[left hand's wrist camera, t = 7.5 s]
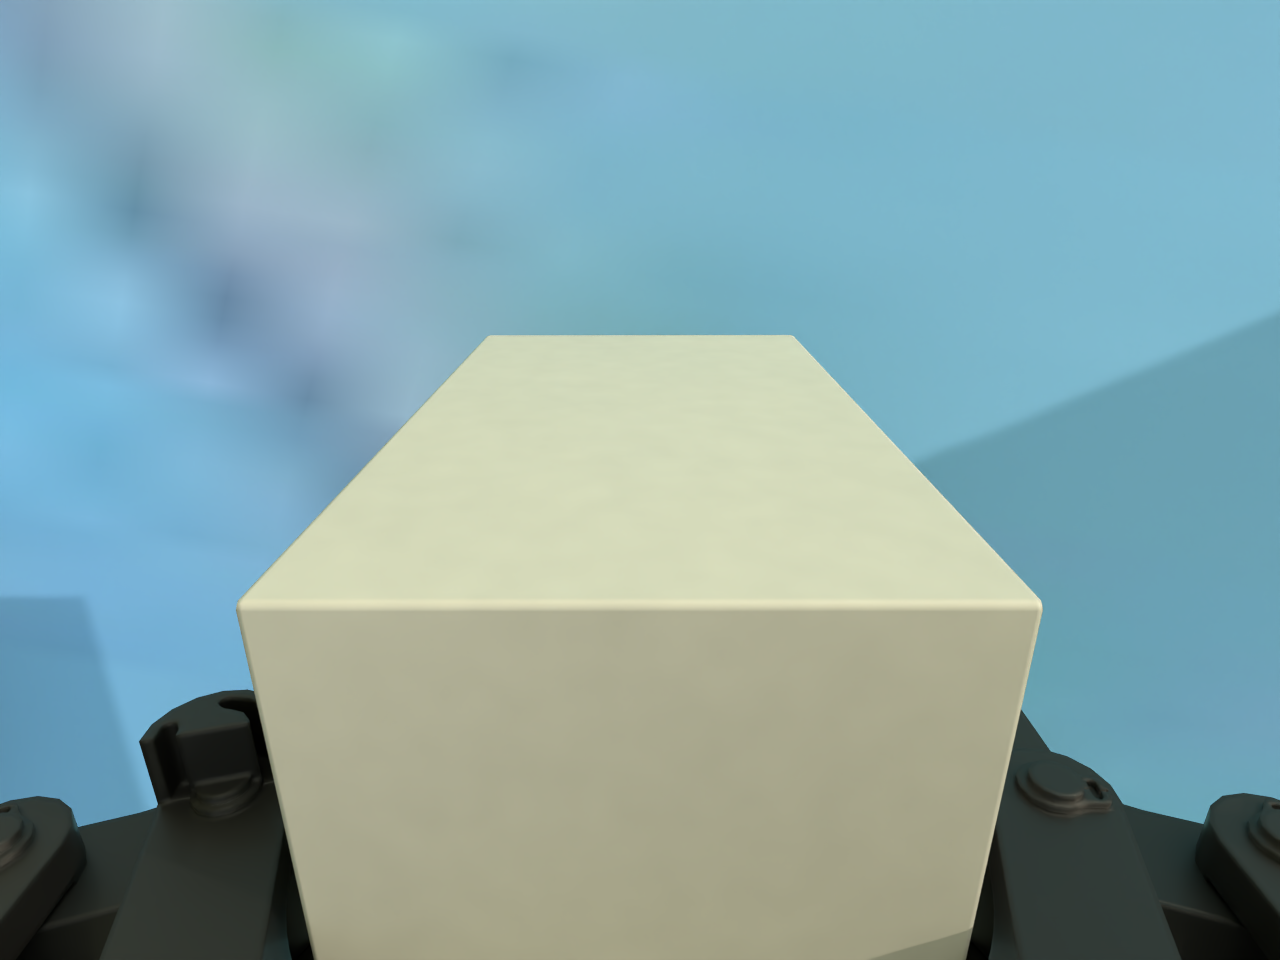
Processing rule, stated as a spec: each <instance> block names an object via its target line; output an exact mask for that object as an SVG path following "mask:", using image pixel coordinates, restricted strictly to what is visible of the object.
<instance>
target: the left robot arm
mask: <svg viewBox="0 0 1280 960" xmlns="http://www.w3.org/2000/svg"><path fill="white" fill-rule="evenodd" d="M139 743H140V746H141V749H142V753H143V756H144V759H145V763H146V766H147V769H148V773H149V776H150V779H151V782H152V786H153V789H154V792H155V796H156V799H157V802H158V805H157V808H154V809H151V810H147V811H144V812H141V813H137V814H133V815H129V816H124V817H120V818H116V819H111V820H107V821H103V822H98V823H94V824H90V825H85V826H81V827H78V826H77V823H76V820H75V818H74V815H73V812H72V809H71V808H70V807H69V806H67V805H66V804H65V803H64V802H62V801H61V800H60V799H56V798H48V797H41V796H36V797H30V798H23V799H17V800H10V801H8V802H5V803H2V804H0V960H314V957H313V953H312V948H311V944H310V939H309V935H308V930H307V926H306V922H305V917H304V913H303V908H302V904H301V899H300V895H299V890H298V886H297V881H296V877H295V872H294V868H293V863H292V859H291V854H290V850H289V845H288V841H287V836H286V832H285V827H284V823H283V818H282V814H281V809H280V805H279V800H278V796H277V791H276V787H275V782H274V778H273V774H272V769H271V765H270V760H269V756H268V751H267V747H266V742H265V738H264V733H263V729H262V724H261V720H260V715H259V711H258V706H257V702H256V697H255V693H254V691H251V690H233V691H222V692H218V693H214V694H210V695H206V696H202V697H198V698H196V699H194V700H191V701H189V702H187V703H185V704H183V705H181V706H179V707H176V708H174V709H172V710H171V711H169V712H168V713H167V714H165V715H164V716H163V717H161V718H160V719H159V720H157V721H156V722H155V723H153V724H152V725H151V726H150V728H149V729H148V730H147V732H146V733H145V734H144V736H143V737H142V738H141V740H140V741H139ZM966 960H1280V800H1277V799H1275V798H1272V797H1266V796H1259V795H1253V794H1246V793H1241V794H1233V795H1226V796H1222V797H1221V798H1219V799H1218V800H1217V801H1216V802H1214V803H1213V804H1212V805H1211V806H1210V808H1209V811H1208V814H1207V817H1206V819H1205V822H1204V824H1200V823H1196V822H1192V821H1187V820H1183V819H1179V818H1174V817H1170V816H1166V815H1161V814H1157V813H1153V812H1148V811H1144V810H1140V809H1137V808H1134V807H1130V806H1127V805H1124V804H1122V802H1121V801H1120V799H1119V797H1118V796H1117V794H1116V793H1115V791H1114V790H1113V788H1112V787H1111V785H1110V784H1109V783H1107V782H1106V781H1105V780H1104V779H1103V778H1101V777H1100V776H1099V775H1098V774H1097V773H1095V772H1094V771H1093V770H1092V769H1090V768H1088V767H1087V766H1085V765H1083V764H1081V763H1079V762H1077V761H1075V760H1073V759H1071V758H1069V757H1067V756H1064V755H1061V754H1057V753H1054V752H1051V751H1050V750H1049V748H1048V747H1047V746H1046V744H1045V743H1044V741H1043V740H1042V738H1041V737H1040V736H1039V734H1038V733H1037V731H1036V730H1035V728H1034V727H1033V726H1032V724H1031V723H1030V721H1029V720H1028V719H1027V717H1026V716H1025V714H1024V713H1023V711H1022V710H1021V711H1020V716H1019V720H1018V725H1017V729H1016V734H1015V738H1014V743H1013V747H1012V752H1011V756H1010V761H1009V766H1008V770H1007V775H1006V779H1005V784H1004V788H1003V793H1002V797H1001V802H1000V806H999V811H998V816H997V820H996V825H995V829H994V834H993V838H992V843H991V847H990V852H989V856H988V861H987V866H986V870H985V875H984V879H983V884H982V888H981V893H980V897H979V902H978V906H977V911H976V916H975V920H974V925H973V929H972V934H971V938H970V943H969V947H968V952H967V956H966Z"/></svg>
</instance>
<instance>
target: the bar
mask: <svg viewBox="0 0 1280 960" xmlns="http://www.w3.org/2000/svg"><path fill="white" fill-rule="evenodd" d="M1042 611H1043V608H1042V603H1041V600H1040V599H1039V598H1038V597H1037V596H1036V595H1035V594H1034V593H1033V592H1032V590H1031V589H1030V588H1029V587H1028V586H1027V585H1026V584H1025V583H1024V582H1023V581H1022V580H1021V579H1020V578H1019V577H1018V576H1017V574H1016V573H1015V572H1014V571H1013V570H1012V569H1011V568H1010V567H1009V566H1008V565H1007V564H1006V563H1005V562H1004V561H1003V560H1002V558H1001V557H1000V556H999V555H998V554H997V553H996V552H995V551H994V550H993V549H992V548H991V547H990V546H989V545H988V543H987V542H986V541H985V540H984V539H983V538H982V537H981V536H980V535H979V534H978V533H977V532H976V531H975V530H974V529H973V527H972V526H971V525H970V524H969V523H968V522H967V521H966V520H965V519H964V518H963V517H962V516H961V515H960V514H959V513H958V511H957V510H956V509H955V508H954V507H953V506H952V505H951V504H950V503H949V502H948V501H947V500H946V499H945V498H944V497H943V495H942V494H941V493H940V492H939V491H938V490H937V489H936V488H935V487H934V486H933V485H932V484H931V483H930V482H929V481H928V479H927V478H926V477H925V476H924V475H923V474H922V473H921V472H920V471H919V470H918V469H917V468H916V467H915V466H914V464H913V463H912V462H911V461H910V460H909V459H908V458H907V457H906V456H905V455H904V454H903V453H902V452H901V451H900V450H899V448H898V447H897V446H896V445H895V444H894V443H893V442H892V441H891V440H890V439H889V438H888V437H887V436H886V435H885V434H884V432H883V431H882V430H881V429H880V428H879V427H878V426H877V425H876V424H875V423H874V422H873V421H872V420H871V419H870V418H869V416H868V415H867V414H866V413H865V412H864V411H863V410H862V409H861V408H860V407H859V406H858V405H857V404H856V403H855V402H854V400H853V399H852V398H851V397H850V396H849V395H848V394H847V393H846V392H845V391H844V390H843V389H842V388H841V387H840V386H839V384H838V383H837V382H836V381H835V380H834V379H833V378H832V377H831V376H830V375H829V374H828V373H827V372H826V371H825V369H824V368H823V367H822V366H821V365H820V364H819V363H818V362H817V361H816V360H815V359H814V358H813V357H812V356H811V355H810V353H809V352H808V351H807V350H806V349H805V348H804V347H803V346H802V345H801V344H800V343H799V342H798V341H797V340H796V339H795V337H794V336H792V335H490V336H487V337H486V338H485V339H484V340H483V341H482V343H481V344H480V345H479V346H478V347H477V348H476V349H475V350H474V351H473V352H472V353H471V354H470V355H469V356H468V357H467V358H466V360H465V361H464V362H463V363H462V364H461V365H460V366H459V367H458V368H457V369H456V370H455V371H454V372H453V373H452V374H451V375H450V376H449V378H448V379H447V380H446V381H445V382H444V383H443V384H442V385H441V386H440V387H439V388H438V389H437V390H436V391H435V392H434V393H433V394H432V396H431V397H430V398H429V399H428V400H427V401H426V402H425V403H424V404H423V405H422V406H421V407H420V408H419V409H418V410H417V411H416V413H415V414H414V415H413V416H412V417H411V418H410V419H409V420H408V421H407V422H406V423H405V424H404V425H403V426H402V427H401V428H400V429H399V431H398V432H397V433H396V434H395V435H394V436H393V437H392V438H391V439H390V440H389V441H388V442H387V443H386V444H385V445H384V446H383V447H382V449H381V450H380V451H379V452H378V453H377V454H376V455H375V456H374V457H373V458H372V459H371V460H370V461H369V462H368V463H367V464H366V465H365V467H364V468H363V469H362V470H361V471H360V472H359V473H358V474H357V475H356V476H355V477H354V478H353V479H352V480H351V481H350V482H349V484H348V485H347V486H346V487H345V488H344V489H343V490H342V491H341V492H340V493H339V494H338V495H337V496H336V497H335V498H334V499H333V500H332V502H331V503H330V504H329V505H328V506H327V507H326V508H325V509H324V510H323V511H322V512H321V513H320V514H319V515H318V516H317V517H316V518H315V520H314V521H313V522H312V523H311V524H310V525H309V526H308V527H307V528H306V529H305V530H304V531H303V532H302V533H301V534H300V535H299V537H298V538H297V539H296V540H295V541H294V542H293V543H292V544H291V545H290V546H289V547H288V548H287V549H286V550H285V551H284V552H283V553H282V555H281V556H280V557H279V558H278V559H277V560H276V561H275V562H274V563H273V564H272V565H271V566H270V567H269V568H268V569H267V570H266V571H265V573H264V574H263V575H262V576H261V577H260V578H259V579H258V580H257V581H256V582H255V583H254V584H253V585H252V586H251V587H250V588H249V589H248V591H247V592H246V593H245V594H244V595H243V596H242V597H241V598H240V599H239V600H238V603H237V607H236V612H237V617H238V621H239V626H240V630H241V635H242V639H243V643H244V648H245V652H246V657H247V661H248V666H249V670H250V675H251V679H252V684H253V688H254V693H255V697H256V702H257V706H258V711H259V715H260V720H261V724H262V729H263V733H264V738H265V742H266V747H267V751H268V756H269V760H270V765H271V769H272V774H273V778H274V782H275V787H276V791H277V796H278V800H279V805H280V809H281V814H282V818H283V823H284V827H285V832H286V836H287V841H288V845H289V850H290V854H291V859H292V863H293V868H294V872H295V877H296V881H297V886H298V890H299V895H300V899H301V904H302V908H303V913H304V917H305V922H306V926H307V930H308V935H309V939H310V944H311V948H312V953H313V957H314V960H966V956H967V952H968V947H969V943H970V938H971V934H972V929H973V925H974V920H975V916H976V911H977V906H978V902H979V897H980V893H981V888H982V884H983V879H984V875H985V870H986V866H987V861H988V856H989V852H990V847H991V843H992V838H993V834H994V829H995V825H996V820H997V816H998V811H999V806H1000V802H1001V797H1002V793H1003V788H1004V784H1005V779H1006V775H1007V770H1008V766H1009V761H1010V756H1011V752H1012V747H1013V743H1014V738H1015V734H1016V729H1017V725H1018V720H1019V716H1020V711H1021V706H1022V702H1023V697H1024V693H1025V688H1026V684H1027V679H1028V675H1029V670H1030V665H1031V661H1032V656H1033V652H1034V647H1035V643H1036V638H1037V634H1038V629H1039V625H1040V620H1041V615H1042Z"/></svg>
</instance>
